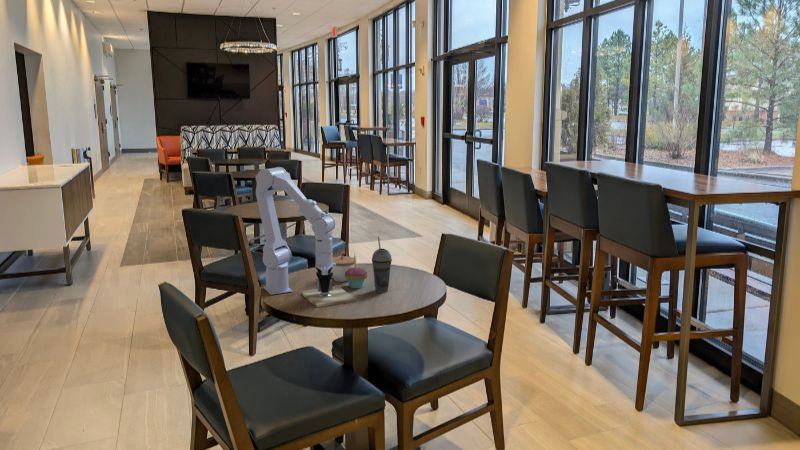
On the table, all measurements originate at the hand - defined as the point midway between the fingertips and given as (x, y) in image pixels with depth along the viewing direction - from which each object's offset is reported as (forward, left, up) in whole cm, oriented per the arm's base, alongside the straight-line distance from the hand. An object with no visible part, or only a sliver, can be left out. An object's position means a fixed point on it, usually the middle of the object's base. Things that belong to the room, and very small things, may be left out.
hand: (324, 289), depth 203 cm
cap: (0, 0, 0) cm, 0 cm away
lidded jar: (-18, +14, -3) cm, 23 cm away
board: (0, +1, -3) cm, 3 cm away
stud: (0, 0, -3) cm, 3 cm away
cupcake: (-7, +15, -3) cm, 17 cm away
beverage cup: (+2, +21, -3) cm, 21 cm away
